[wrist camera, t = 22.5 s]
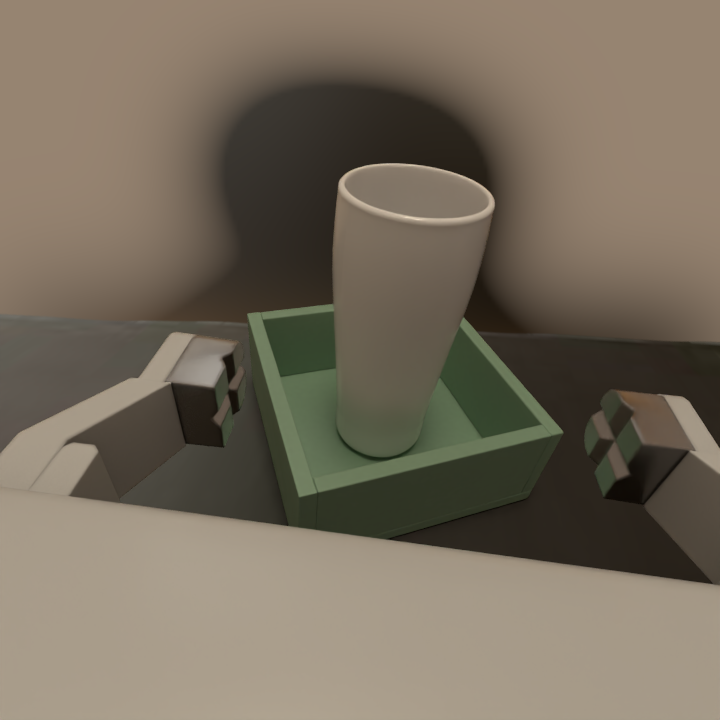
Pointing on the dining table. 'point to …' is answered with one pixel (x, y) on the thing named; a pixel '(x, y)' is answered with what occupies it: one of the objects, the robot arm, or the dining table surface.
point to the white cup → (400, 294)
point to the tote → (409, 469)
